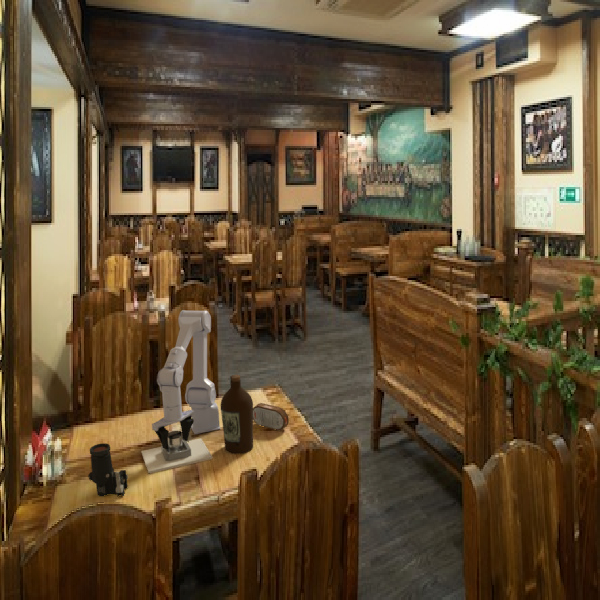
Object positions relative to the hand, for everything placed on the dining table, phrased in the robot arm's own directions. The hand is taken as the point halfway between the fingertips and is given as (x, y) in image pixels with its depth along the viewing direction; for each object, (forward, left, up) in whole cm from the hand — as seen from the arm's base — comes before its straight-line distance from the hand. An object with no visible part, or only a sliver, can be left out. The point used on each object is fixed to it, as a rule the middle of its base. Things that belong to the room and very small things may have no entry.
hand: (175, 444), depth 169 cm
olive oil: (-20, +4, -4) cm, 21 cm away
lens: (0, 0, -3) cm, 3 cm away
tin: (-35, -6, -4) cm, 36 cm away
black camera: (+22, +13, -4) cm, 26 cm away
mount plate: (0, 0, -4) cm, 4 cm away
